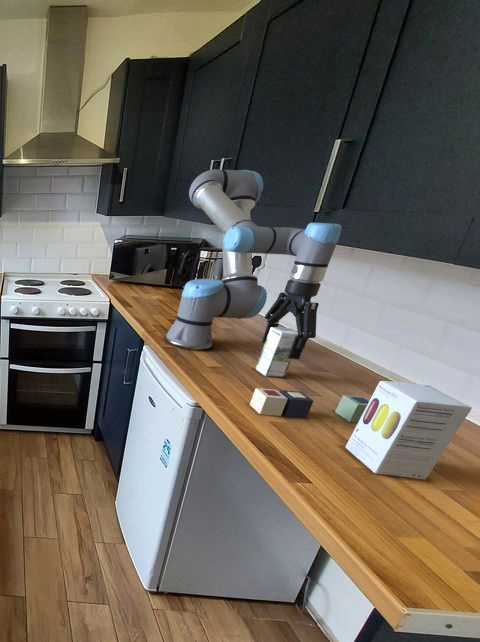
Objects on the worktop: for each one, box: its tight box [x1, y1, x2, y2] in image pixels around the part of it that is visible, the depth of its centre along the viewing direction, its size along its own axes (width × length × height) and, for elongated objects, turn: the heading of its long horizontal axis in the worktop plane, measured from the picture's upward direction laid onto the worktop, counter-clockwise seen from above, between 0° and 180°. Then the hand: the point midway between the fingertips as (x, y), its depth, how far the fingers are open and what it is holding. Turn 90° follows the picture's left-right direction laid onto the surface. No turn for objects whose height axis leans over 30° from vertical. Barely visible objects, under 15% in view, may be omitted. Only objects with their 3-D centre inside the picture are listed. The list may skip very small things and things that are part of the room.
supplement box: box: [345, 380, 473, 480], centre depth 81 cm, size 10×9×17 cm
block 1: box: [249, 387, 287, 417], centre depth 102 cm, size 5×5×5 cm
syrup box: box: [255, 326, 298, 378], centre depth 123 cm, size 6×6×14 cm
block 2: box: [279, 389, 314, 419], centre depth 102 cm, size 5×5×5 cm
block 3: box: [334, 394, 370, 424], centre depth 100 cm, size 5×5×5 cm
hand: (279, 350), depth 122 cm, fingers open, 13 cm apart
